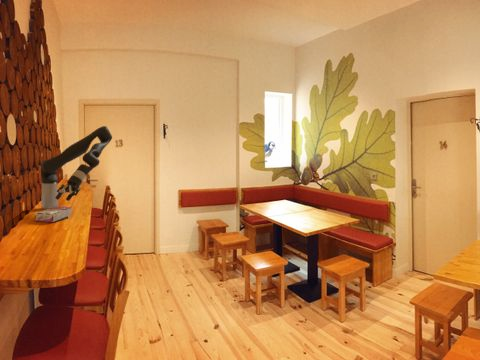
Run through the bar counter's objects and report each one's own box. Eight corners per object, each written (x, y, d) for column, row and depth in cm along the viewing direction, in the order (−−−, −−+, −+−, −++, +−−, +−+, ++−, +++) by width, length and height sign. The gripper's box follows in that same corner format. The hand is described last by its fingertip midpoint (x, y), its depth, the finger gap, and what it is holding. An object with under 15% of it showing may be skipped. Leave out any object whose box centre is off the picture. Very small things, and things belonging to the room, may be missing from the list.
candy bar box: (55, 214, 206) (35, 221, 190) (55, 206, 205) (34, 212, 189) (72, 215, 204) (53, 222, 188) (71, 207, 203) (52, 213, 187)
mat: (34, 220, 193) (34, 218, 193) (54, 216, 205) (54, 214, 205) (48, 222, 189) (48, 220, 189) (67, 218, 201) (67, 216, 201)
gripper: (89, 183, 213) (74, 204, 204) (72, 182, 218) (57, 202, 209) (82, 175, 208) (66, 196, 198) (64, 174, 213) (49, 194, 204)
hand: (61, 199), depth 204 cm, fingers open, 8 cm apart
